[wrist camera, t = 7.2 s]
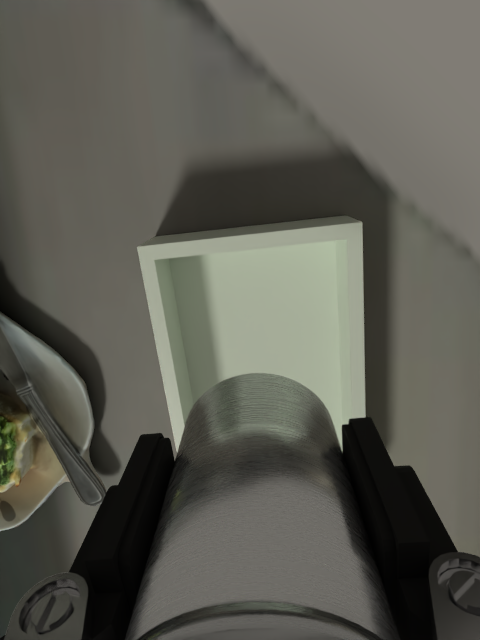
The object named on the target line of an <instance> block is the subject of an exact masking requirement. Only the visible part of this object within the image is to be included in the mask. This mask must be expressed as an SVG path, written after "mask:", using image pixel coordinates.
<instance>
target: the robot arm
mask: <svg viewBox="0 0 480 640" xmlns="http://www.w3.org/2000/svg"><path fill="white" fill-rule="evenodd" d="M342 449H343V456H344V459H345V463H346V466H347V469H348V472H349V476H350V479H351V482H352V485H353V489H354V492H355V495H356V498H357V501H358V505H359V508H360V511H361V514H362V518H363V521H364V524H365V527H366V531H367V534H368V537H369V540H370V543H371V547H372V550H373V553H374V556H375V560H376V563H377V566H378V569H379V573H380V576H381V579H382V582H383V585H384V589H385V592H386V595H387V598H388V602H389V605H390V608H391V611H392V615H393V618H394V621H395V624H396V627H397V631H398V634H399V637H400V640H480V557H478V556H476V555H472V554H468V553H464V552H458V551H457V549H456V548H455V546H454V544H453V542H452V540H451V538H450V536H449V535H448V533H447V531H446V529H445V527H444V525H443V523H442V521H441V520H440V518H439V516H438V514H437V512H436V510H435V508H434V507H433V505H432V503H431V501H430V499H429V497H428V495H427V494H426V492H425V490H424V488H423V486H422V484H421V482H420V481H419V479H418V477H417V475H416V473H415V471H414V470H413V468H412V467H411V466H394V465H393V463H392V461H391V459H390V457H389V455H388V452H387V450H386V448H385V446H384V444H383V442H382V440H381V438H380V436H379V434H378V431H377V429H376V427H375V425H374V423H373V421H372V419H371V418H370V417H364V418H351V419H349V424H344V425H342ZM174 463H175V461H174V456H173V451H172V446H171V441H170V439H169V438H164V437H163V435H162V434H161V433H156V434H143V435H141V436H140V437H139V440H138V442H137V444H136V446H135V449H134V451H133V453H132V455H131V458H130V460H129V462H128V464H127V467H126V469H125V471H124V473H123V476H122V478H121V480H120V482H119V485H115V486H111V487H110V488H109V489H108V491H107V493H106V495H105V497H104V499H103V501H102V503H101V505H100V507H99V510H98V512H97V514H96V516H95V518H94V520H93V522H92V524H91V526H90V529H89V531H88V533H87V535H86V537H85V539H84V541H83V543H82V546H81V548H80V550H79V552H78V554H77V556H76V558H75V560H74V562H73V565H72V567H71V569H70V571H69V572H66V573H59V574H56V575H53V576H50V577H48V578H46V579H44V580H42V581H41V582H39V583H38V584H36V585H35V586H34V587H32V588H31V589H30V590H29V591H28V592H27V593H26V594H25V595H24V596H23V598H22V599H21V600H20V601H19V603H18V604H17V606H16V608H15V610H14V612H13V614H12V616H11V619H10V623H9V626H8V629H7V632H6V635H4V636H3V637H2V638H0V640H125V638H126V634H127V631H128V627H129V623H130V620H131V616H132V613H133V609H134V606H135V602H136V598H137V595H138V591H139V588H140V584H141V581H142V577H143V573H144V570H145V566H146V563H147V559H148V556H149V552H150V549H151V545H152V541H153V538H154V534H155V531H156V527H157V524H158V520H159V516H160V513H161V509H162V506H163V502H164V499H165V495H166V491H167V488H168V484H169V481H170V477H171V474H172V470H173V466H174Z"/></svg>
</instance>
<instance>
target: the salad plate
mask: <svg viewBox="0 0 480 640" xmlns="http://www.w3.org/2000/svg"><path fill="white" fill-rule="evenodd" d="M3 373H4V374H5V375H6V376H7V378H8V379H9V380H7V379H5V377H4V376H3ZM94 428H95V426H94V418H93V413H92V408H91V403H90V400H89V396H88V392H87V387H86V384H85V382H84V381H83V379H82V378H81V377H80V376H79V374H78V373H77V372H76V370H75V369H74V368H73V367H72V366H71V365H70V364H69V363H68V362H67V361H65V360H64V359H63V357H62V356H61V355H59V354H58V353H57V352H56V351H55V350H54V349H52V348H51V347H50V346H48V345H47V344H46V343H45V342H43V341H42V340H41V339H39V338H37V337H36V336H34V335H33V334H31V333H30V332H28V331H27V330H26V329H24V328H23V327H22V326H20V325H19V324H17V323H16V322H14V321H13V320H12V319H10V318H9V317H7V316H6V315H4V314H3V313H2V312H0V531H2V530H6V529H10V528H13V527H18V526H19V525H20V524H22V523H23V522H25V521H26V520H27V519H28V518H29V517H30V516H31V515H32V514H33V512H34V511H35V510H36V509H38V508H39V507H40V506H41V505H42V504H43V503H44V502H45V501H46V500H47V499H48V497H49V496H50V495H51V494H52V493H53V492H54V490H55V489H56V488H57V487H58V486H59V485H61V484H63V483H64V482H70V483H71V484H72V486H73V488H74V490H75V492H76V493H77V495H78V496H79V498H80V500H81V501H82V502H83V503H84V504H87V505H91V506H96V505H99V504H101V503H102V501H103V499H104V497H105V495H106V489H105V487H104V485H103V483H102V481H101V479H100V477H99V476H98V474H97V473H96V471H95V469H94V467H93V465H92V463H91V461H90V457H89V448H90V445H91V439H92V436H93V432H94Z"/></svg>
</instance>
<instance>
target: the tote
mask: <svg viewBox="0 0 480 640" xmlns="http://www.w3.org/2000/svg"><path fill="white" fill-rule="evenodd" d="M137 250H138V255H139V260H140V265H141V270H142V275H143V281H144V286H145V291H146V296H147V301H148V306H149V311H150V317H151V322H152V327H153V332H154V337H155V342H156V348H157V353H158V358H159V363H160V368H161V373H162V378H163V384H164V389H165V394H166V399H167V404H168V409H169V414H170V420H171V425H172V430H173V435H174V440H175V445H176V451H177V452H178V449H179V445H180V441H181V438H182V434H183V431H184V427H185V424H186V420H187V418H188V415H189V412H190V411H191V409H192V407H193V405H194V404H195V403H196V401H197V400H198V399H199V398H200V397H201V396H202V395H203V394H204V393H205V392H206V391H207V390H208V389H210V388H211V387H212V386H214V385H216V384H218V383H219V382H221V381H223V380H226V379H228V378H231V377H234V376H238V375H242V374H249V373H268V374H275V375H280V376H284V377H287V378H290V379H292V380H295V381H297V382H299V383H301V384H302V385H304V386H305V387H307V388H308V389H310V390H311V391H312V392H313V393H315V394H316V395H317V396H318V397H319V398H320V400H321V401H322V402H323V403H324V405H325V406H326V408H327V409H328V411H329V413H330V416H331V418H332V421H333V424H334V427H335V430H336V434H337V437H338V440H339V443H340V447H341V450H342V453H343V449H342V425H344V424H349V419H351V418H364V417H366V414H365V353H364V293H363V233H362V222H361V221H359V220H356V219H354V218H352V217H349V216H347V215H343V216H334V217H325V218H316V219H307V220H298V221H289V222H280V223H271V224H262V225H253V226H244V227H235V228H226V229H217V230H208V231H199V232H190V233H181V234H172V235H163V236H155V237H153V238H151V239H150V240H148V241H146V242H144V243H143V244H141V245H139V246H137Z"/></svg>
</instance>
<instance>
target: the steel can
mask: <svg viewBox="0 0 480 640" xmlns="http://www.w3.org/2000/svg"><path fill="white" fill-rule="evenodd" d="M125 640H400V637H399V634H398V631H397V627H396V624H395V621H394V618H393V615H392V611H391V608H390V605H389V602H388V598H387V595H386V592H385V589H384V585H383V582H382V579H381V576H380V573H379V569H378V566H377V563H376V560H375V556H374V553H373V550H372V547H371V543H370V540H369V537H368V534H367V531H366V527H365V524H364V521H363V518H362V514H361V511H360V508H359V505H358V501H357V498H356V495H355V492H354V489H353V485H352V482H351V479H350V476H349V472H348V469H347V466H346V463H345V459H344V456H343V453H342V450H341V447H340V443H339V440H338V437H337V434H336V430H335V427H334V424H333V421H332V418H331V416H330V413H329V411H328V409H327V408H326V406H325V405H324V403H323V402H322V401H321V400H320V398H319V397H318V396H317V395H316V394H315V393H313V392H312V391H311V390H310V389H308V388H307V387H305V386H304V385H302V384H301V383H299V382H297V381H295V380H292V379H290V378H287V377H284V376H280V375H275V374H268V373H249V374H242V375H238V376H234V377H231V378H228V379H226V380H223V381H221V382H219V383H218V384H216V385H214V386H212V387H211V388H210V389H208V390H207V391H206V392H205V393H204V394H203V395H202V396H201V397H200V398H199V399H198V400H197V401H196V403H195V404H194V405H193V407H192V409H191V411H190V412H189V415H188V418H187V420H186V424H185V427H184V431H183V434H182V438H181V441H180V445H179V449H178V452H177V456H176V459H175V463H174V466H173V470H172V474H171V477H170V481H169V484H168V488H167V491H166V495H165V499H164V502H163V506H162V509H161V513H160V516H159V520H158V524H157V527H156V531H155V534H154V538H153V541H152V545H151V549H150V552H149V556H148V559H147V563H146V566H145V570H144V573H143V577H142V581H141V584H140V588H139V591H138V595H137V598H136V602H135V606H134V609H133V613H132V616H131V620H130V623H129V627H128V631H127V634H126V638H125Z"/></svg>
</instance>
